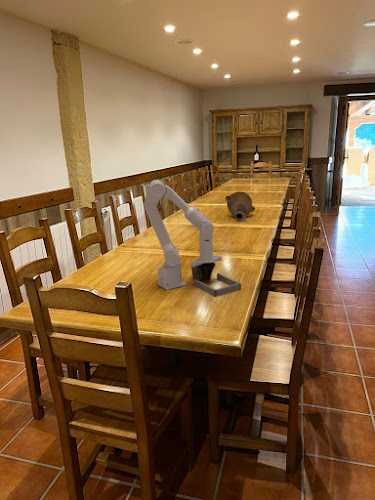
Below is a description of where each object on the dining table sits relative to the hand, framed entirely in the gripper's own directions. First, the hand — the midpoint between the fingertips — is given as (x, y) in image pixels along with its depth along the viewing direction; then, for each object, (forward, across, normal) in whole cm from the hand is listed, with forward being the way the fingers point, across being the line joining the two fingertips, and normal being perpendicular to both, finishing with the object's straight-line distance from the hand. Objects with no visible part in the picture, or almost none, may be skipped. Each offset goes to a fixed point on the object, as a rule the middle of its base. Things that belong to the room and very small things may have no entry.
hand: (207, 279), depth 160 cm
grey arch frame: (+1, 0, -7) cm, 7 cm away
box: (+1, 0, +4) cm, 5 cm away
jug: (+2, +96, +95) cm, 135 cm away
